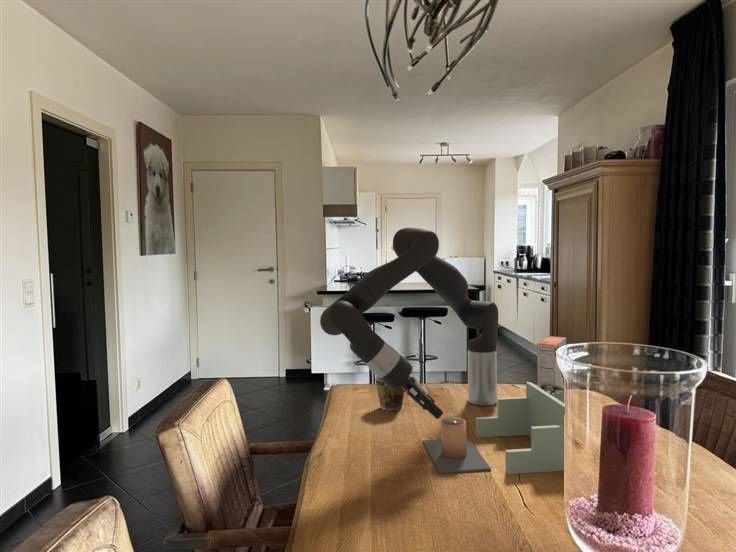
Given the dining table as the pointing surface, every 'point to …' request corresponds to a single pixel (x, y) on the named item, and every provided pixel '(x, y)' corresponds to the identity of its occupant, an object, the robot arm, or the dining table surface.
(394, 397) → the ceramic cup
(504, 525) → the dining table surface
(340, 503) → the dining table surface
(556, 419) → the stepped shelf frame
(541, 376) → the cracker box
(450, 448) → the pink and brown cylinder
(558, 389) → the food container
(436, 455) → the charcoal mat
